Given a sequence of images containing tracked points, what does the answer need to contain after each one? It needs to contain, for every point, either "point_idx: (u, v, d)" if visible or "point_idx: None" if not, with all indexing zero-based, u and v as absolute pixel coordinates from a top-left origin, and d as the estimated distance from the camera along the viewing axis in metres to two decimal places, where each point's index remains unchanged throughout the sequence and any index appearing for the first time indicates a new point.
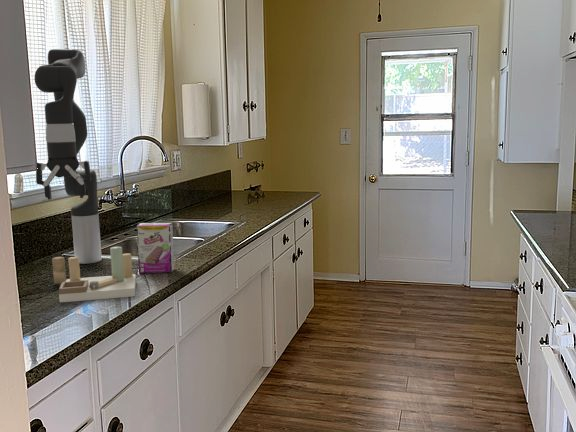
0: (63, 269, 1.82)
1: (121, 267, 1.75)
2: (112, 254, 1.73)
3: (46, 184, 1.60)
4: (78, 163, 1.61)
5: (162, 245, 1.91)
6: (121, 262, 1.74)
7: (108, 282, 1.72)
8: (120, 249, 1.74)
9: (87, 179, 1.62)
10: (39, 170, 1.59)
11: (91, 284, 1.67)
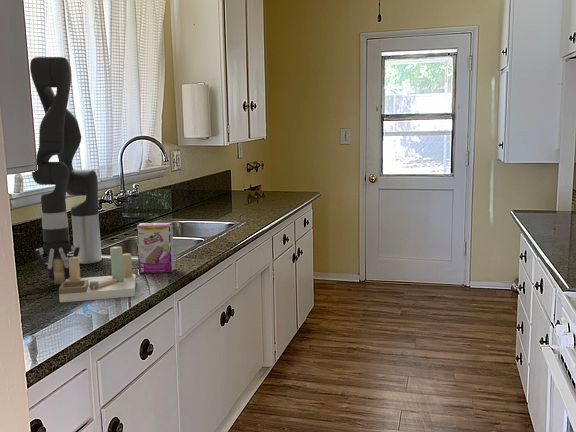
0: (63, 269, 1.82)
1: (121, 267, 1.75)
2: (112, 254, 1.73)
3: (50, 267, 1.81)
4: (70, 247, 1.82)
5: (162, 245, 1.91)
6: (121, 262, 1.74)
7: (108, 282, 1.72)
8: (120, 249, 1.74)
9: None
10: (39, 256, 1.80)
11: (91, 284, 1.67)
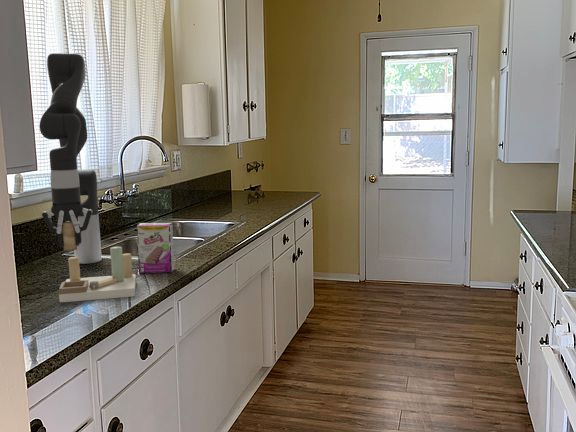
0: (74, 234, 1.64)
1: (121, 267, 1.75)
2: (112, 254, 1.73)
3: (59, 232, 1.63)
4: (82, 209, 1.64)
5: (162, 245, 1.91)
6: (121, 262, 1.74)
7: (108, 282, 1.72)
8: (120, 249, 1.74)
9: (83, 227, 1.64)
10: (47, 219, 1.62)
11: (91, 284, 1.67)
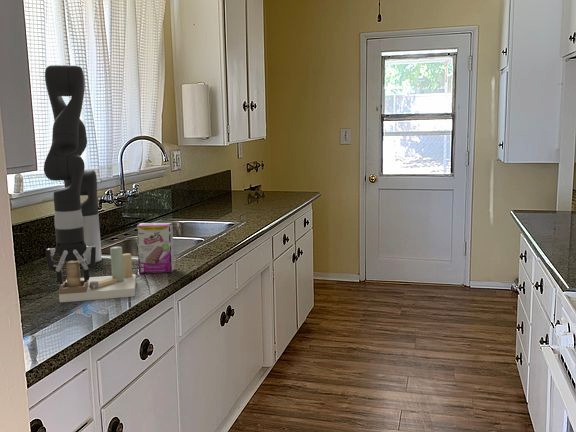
0: (78, 275, 1.66)
1: (121, 267, 1.75)
2: (112, 254, 1.73)
3: (58, 270, 1.65)
4: (86, 247, 1.66)
5: (162, 245, 1.91)
6: (121, 262, 1.74)
7: (108, 282, 1.72)
8: (120, 249, 1.74)
9: (91, 264, 1.66)
10: (49, 257, 1.63)
11: (91, 284, 1.67)
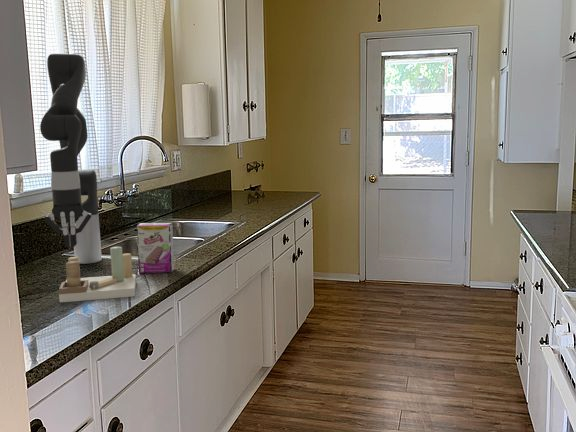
0: (78, 275, 1.66)
1: (121, 267, 1.75)
2: (112, 254, 1.73)
3: (66, 233, 1.63)
4: (82, 211, 1.64)
5: (162, 245, 1.91)
6: (121, 262, 1.74)
7: (108, 282, 1.72)
8: (120, 249, 1.74)
9: (78, 229, 1.64)
10: (51, 222, 1.62)
11: (91, 284, 1.67)
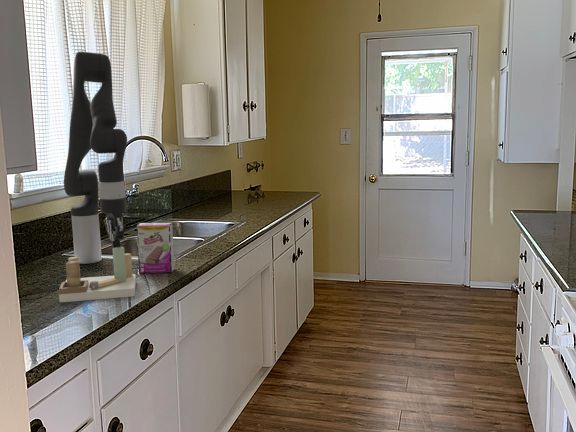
0: (78, 275, 1.66)
1: (123, 268, 1.74)
2: (114, 254, 1.73)
3: (110, 238, 1.76)
4: (116, 222, 1.72)
5: (162, 245, 1.91)
6: (123, 263, 1.74)
7: (109, 282, 1.71)
8: (122, 250, 1.73)
9: (113, 237, 1.74)
10: (106, 225, 1.79)
11: (91, 284, 1.67)
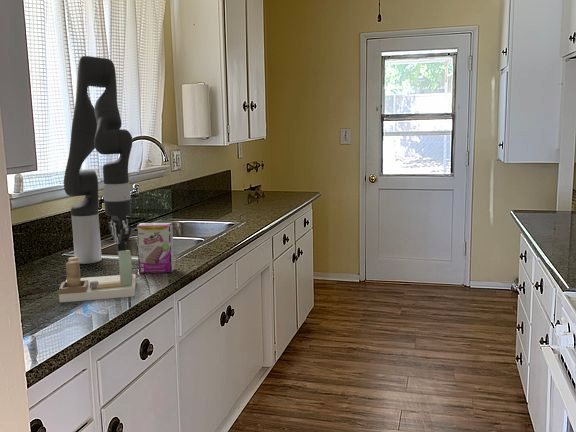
0: (78, 275, 1.66)
1: (126, 272, 1.69)
2: None
3: (115, 241, 1.72)
4: (121, 224, 1.68)
5: (162, 245, 1.91)
6: (126, 267, 1.69)
7: (110, 285, 1.69)
8: (125, 253, 1.68)
9: (119, 240, 1.70)
10: (110, 228, 1.75)
11: None
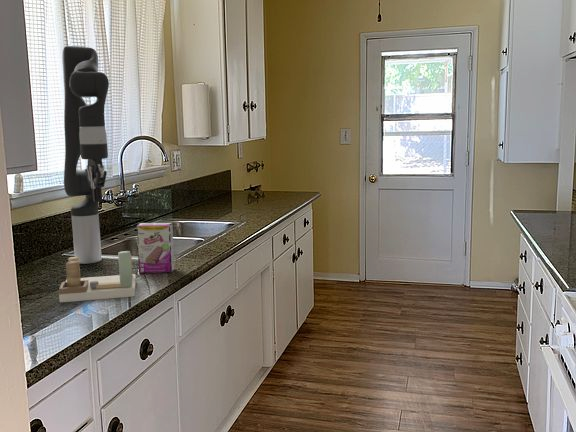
0: (78, 275, 1.66)
1: (125, 273, 1.68)
2: None
3: (91, 186, 1.71)
4: (97, 168, 1.66)
5: (162, 245, 1.91)
6: (125, 268, 1.67)
7: (109, 285, 1.68)
8: (124, 254, 1.67)
9: (94, 184, 1.68)
10: (87, 174, 1.73)
11: None
